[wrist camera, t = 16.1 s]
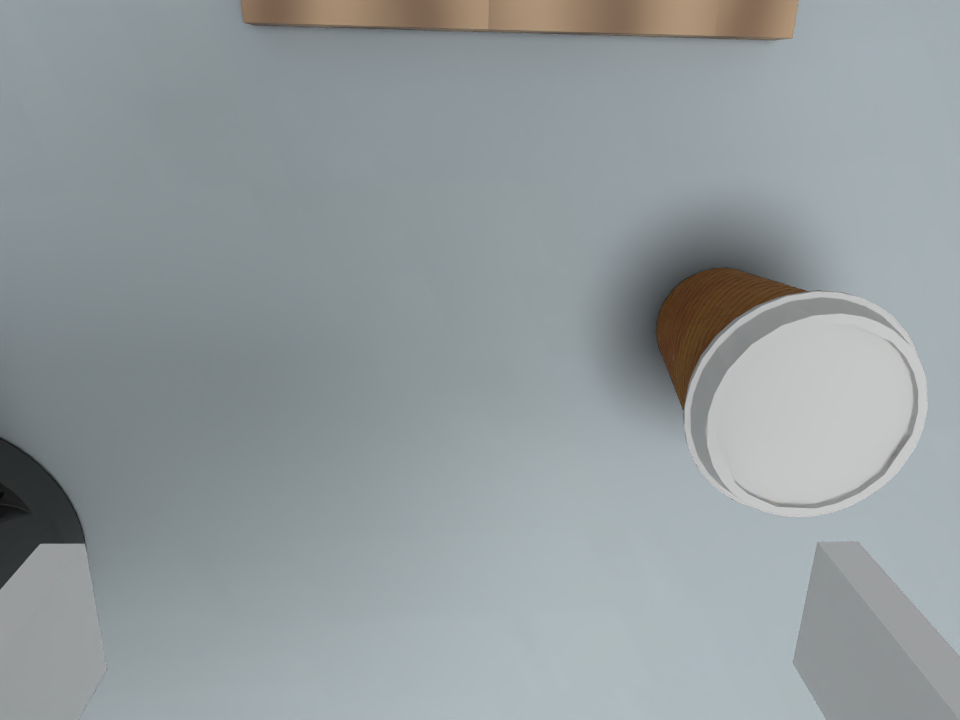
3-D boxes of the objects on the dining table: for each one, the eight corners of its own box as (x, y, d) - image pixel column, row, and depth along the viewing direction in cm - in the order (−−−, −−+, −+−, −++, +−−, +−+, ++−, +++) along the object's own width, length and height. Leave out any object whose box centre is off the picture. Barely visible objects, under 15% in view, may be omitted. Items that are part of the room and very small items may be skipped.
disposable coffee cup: (637, 231, 39) (715, 294, 28) (821, 241, 39) (970, 306, 28) (615, 404, 42) (676, 524, 31) (784, 411, 43) (906, 531, 31)
